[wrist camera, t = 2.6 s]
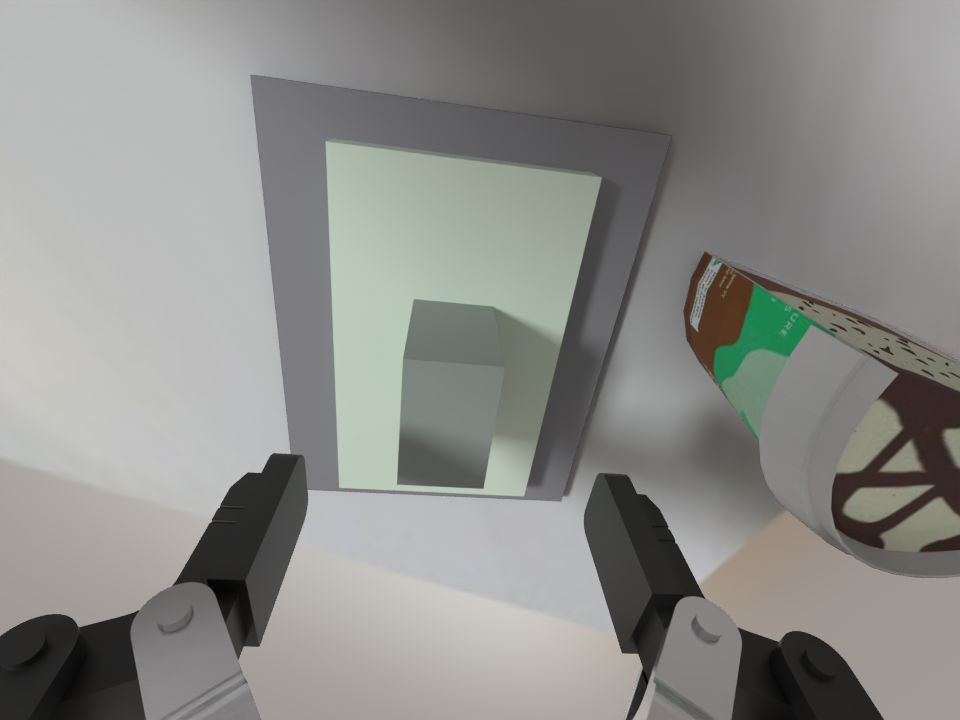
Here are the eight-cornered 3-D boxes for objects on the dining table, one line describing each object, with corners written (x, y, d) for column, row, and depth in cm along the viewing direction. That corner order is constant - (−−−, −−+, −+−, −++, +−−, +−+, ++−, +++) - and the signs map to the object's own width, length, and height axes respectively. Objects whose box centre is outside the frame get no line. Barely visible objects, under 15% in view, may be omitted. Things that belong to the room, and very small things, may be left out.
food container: (603, 363, 21) (710, 549, 12) (674, 239, 18) (878, 366, 10) (808, 427, 24) (1014, 615, 15) (897, 327, 21) (1214, 487, 12)
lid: (344, 469, 22) (314, 574, 18) (334, 138, 15) (277, 157, 10) (520, 478, 23) (539, 579, 19) (592, 172, 16) (654, 204, 11)
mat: (298, 480, 23) (294, 489, 23) (257, 75, 15) (250, 74, 14) (558, 493, 25) (561, 501, 25) (664, 134, 16) (671, 135, 16)
